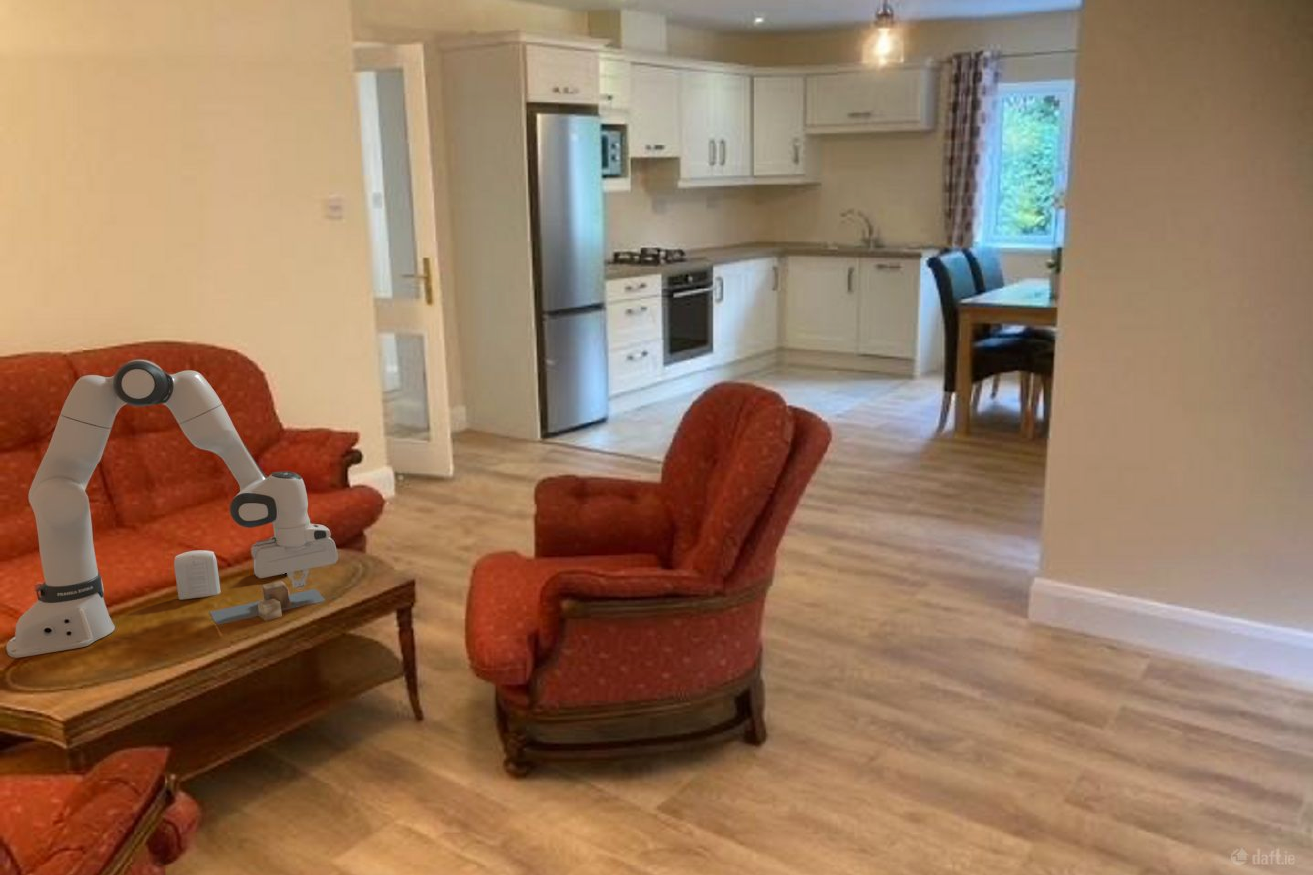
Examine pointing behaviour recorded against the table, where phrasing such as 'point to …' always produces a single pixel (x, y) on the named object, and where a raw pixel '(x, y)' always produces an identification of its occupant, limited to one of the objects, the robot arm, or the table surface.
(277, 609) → the maple cube
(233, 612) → the mat
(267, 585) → the walnut block
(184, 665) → the table surface
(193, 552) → the white upright rounded block
